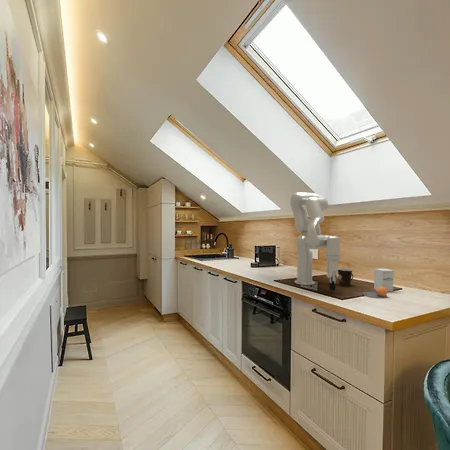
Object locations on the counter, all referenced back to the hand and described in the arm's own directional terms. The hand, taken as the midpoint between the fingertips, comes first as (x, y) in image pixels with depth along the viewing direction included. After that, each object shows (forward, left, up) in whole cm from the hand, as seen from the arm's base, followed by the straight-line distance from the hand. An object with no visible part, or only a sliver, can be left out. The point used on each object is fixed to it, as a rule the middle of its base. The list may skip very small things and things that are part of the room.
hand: (332, 289), depth 167 cm
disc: (0, +22, -2) cm, 22 cm away
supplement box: (-14, +31, -2) cm, 34 cm away
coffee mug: (-22, +11, -2) cm, 25 cm away
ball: (+2, +25, +1) cm, 25 cm away
